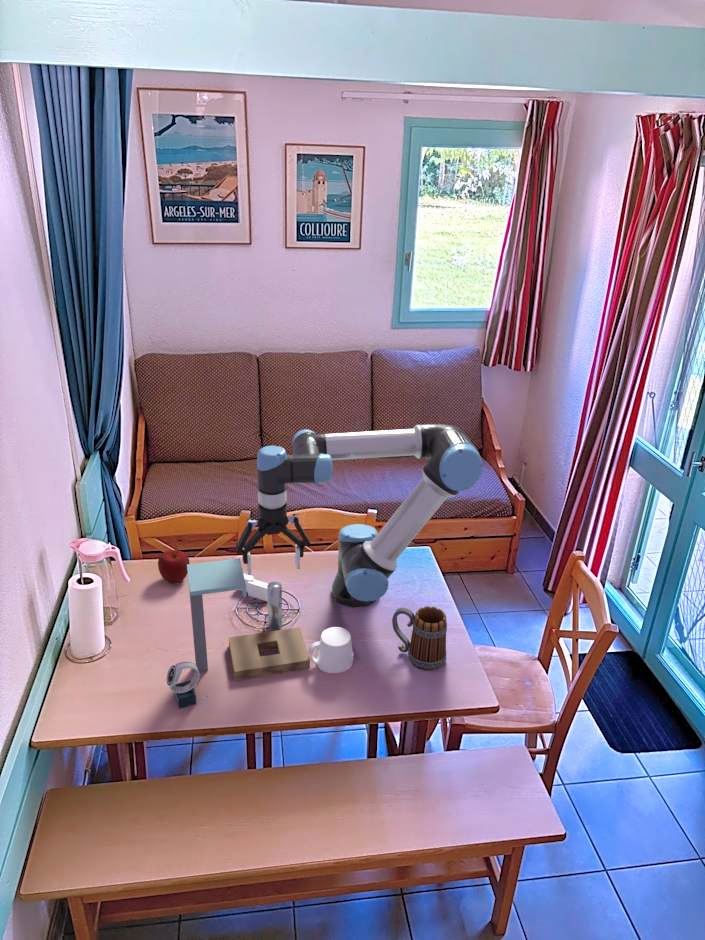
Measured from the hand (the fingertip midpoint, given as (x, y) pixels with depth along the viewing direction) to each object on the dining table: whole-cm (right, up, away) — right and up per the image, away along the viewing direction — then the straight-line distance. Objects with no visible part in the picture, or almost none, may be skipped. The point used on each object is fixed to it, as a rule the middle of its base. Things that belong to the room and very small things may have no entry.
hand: (273, 569), depth 202 cm
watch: (-20, -31, -18) cm, 41 cm away
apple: (-34, -7, +27) cm, 44 cm away
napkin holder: (-8, -11, +23) cm, 27 cm away
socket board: (-1, -24, -3) cm, 24 cm away
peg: (0, -17, +9) cm, 20 cm away
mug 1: (+16, -25, -5) cm, 30 cm away
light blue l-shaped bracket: (-13, -25, -7) cm, 29 cm away
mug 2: (+40, -24, -1) cm, 47 cm away
